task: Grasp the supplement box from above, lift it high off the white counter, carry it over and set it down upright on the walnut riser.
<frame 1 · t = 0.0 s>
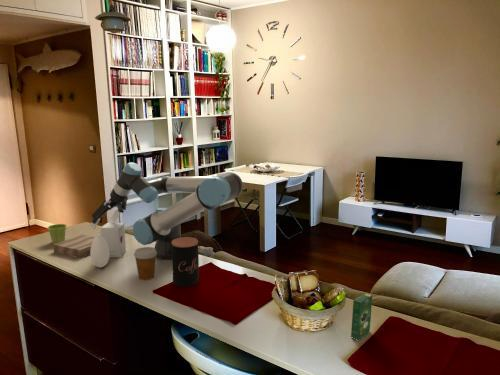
hand: (103, 223, 202), 15 cm above the breakfast bar, tool tilted 35°, fingers open, 13 cm apart
coffee box: (360, 335, 133), on the breakfast bar
walnut riser: (81, 249, 210), on the breakfast bar
coffee jar: (186, 282, 172), on the breakfast bar
plant pot: (58, 242, 221), on the breakfast bar
disposable coffee cup: (146, 277, 177), on the breakfast bar
white teardrop-shaped piece: (100, 267, 188), on the breakfast bar
supplement box: (114, 254, 204), on the breakfast bar
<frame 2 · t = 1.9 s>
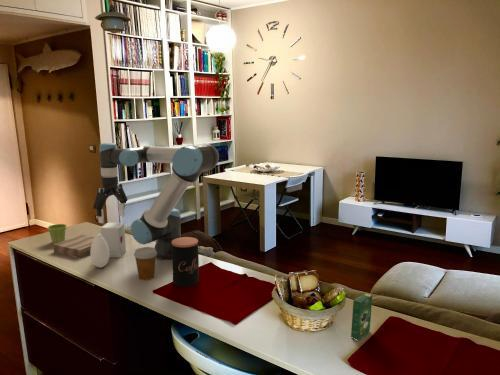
hand: (111, 219, 200), 18 cm above the breakfast bar, tool pointing down, fingers open, 13 cm apart
nothing on the breakfast bar moved.
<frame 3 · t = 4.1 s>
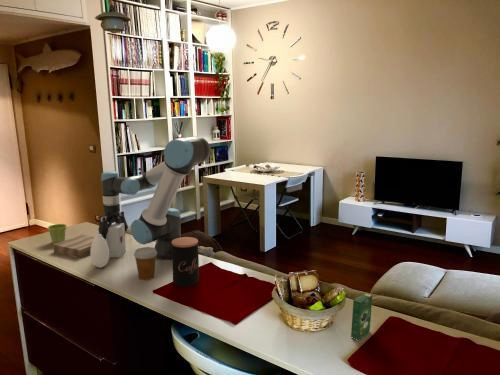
hand: (114, 247, 203), 4 cm above the breakfast bar, tool pointing down, fingers closed on supplement box, 11 cm apart
supplement box: (114, 254, 204), on the breakfast bar, touching gripper
everything else where it was.
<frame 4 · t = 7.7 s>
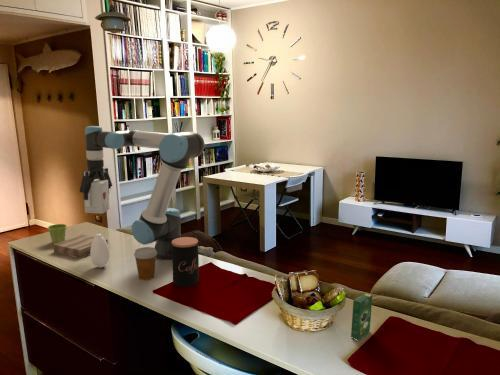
hand: (97, 203, 202), 25 cm above the breakfast bar, tool pointing down, fingers closed on supplement box, 11 cm apart
supplement box: (97, 211, 203), point 21 cm above the breakfast bar, touching gripper
everything else where it was.
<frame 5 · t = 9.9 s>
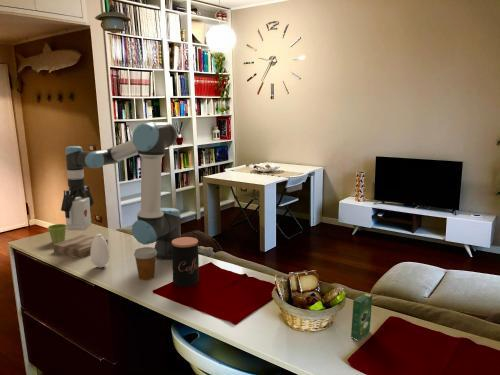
hand: (79, 221, 207), 15 cm above the breakfast bar, tool pointing down, fingers closed on supplement box, 11 cm apart
supplement box: (79, 228, 208), point 11 cm above the breakfast bar, touching gripper
everything else where it was.
when the fingers open (9 cm above the breakfast bar, at t = 11.8 s): supplement box drops 1 cm, resting on walnut riser.
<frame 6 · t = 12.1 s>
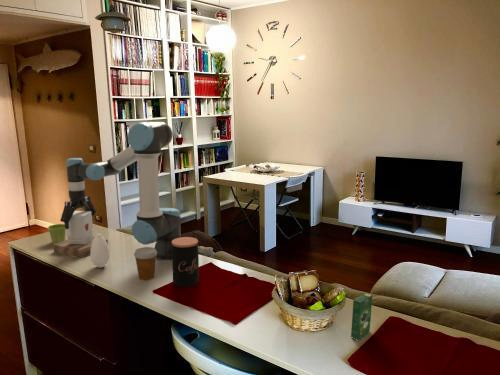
hand: (80, 231, 208), 10 cm above the breakfast bar, tool pointing down, fingers open, 13 cm apart
supplement box: (81, 242, 210), point 4 cm above the breakfast bar, touching walnut riser
everything else where it was.
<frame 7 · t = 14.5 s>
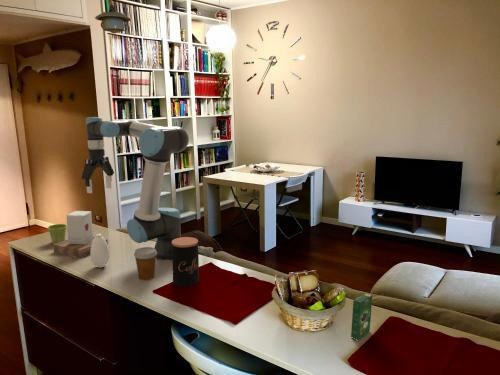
hand: (99, 190, 210), 29 cm above the breakfast bar, tool pointing down, fingers open, 13 cm apart
nothing on the breakfast bar moved.
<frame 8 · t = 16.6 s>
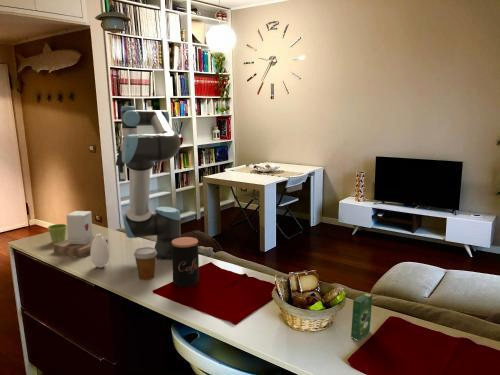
hand: (131, 176, 219), 35 cm above the breakfast bar, tool pointing down, fingers open, 13 cm apart
nothing on the breakfast bar moved.
at the end: supplement box inside the target area on the walnut riser (0.3 cm from its centre), point 3.8 cm above the walnut riser's base; supplement box tilted 0°; the gripper is holding nothing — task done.
